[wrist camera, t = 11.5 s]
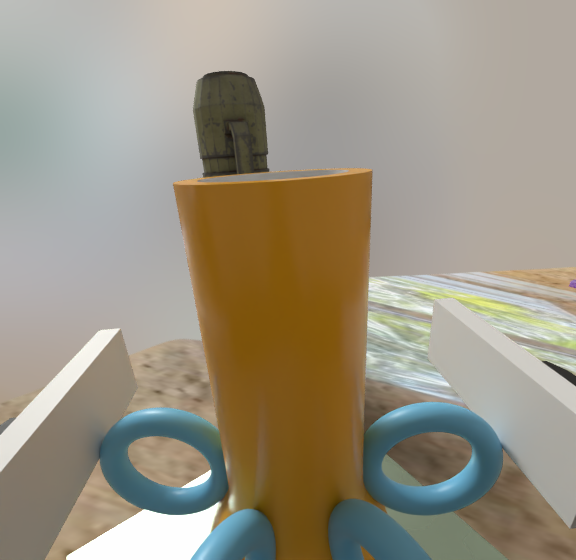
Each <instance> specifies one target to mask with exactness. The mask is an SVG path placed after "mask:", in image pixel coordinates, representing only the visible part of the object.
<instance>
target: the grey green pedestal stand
mask: <svg viewBox="0 0 576 560" xmlns="http://www.w3.org/2000/svg"><path fill="white" fill-rule="evenodd" d="M382 470H383V472H384V474H385V475H386V476H387V477H388V478H390V479H391V480H393V481H395V482H397V483H400V484H403V485H408V486H423V485H422V484H420V483H419V482H418V481H417V480H416V479H415V478H413V477H412V476H411V475H410V474H409V473H408V472H407V471H405V470H404V469H403V468H402V467H401V466H400V465H398V464H397V463H396V462H395V461H394V460H393V459H391V458H390V457H389V456H388V455H387V454H386V455H385V457H384V458H383V461H382ZM210 474H211V471H209V472H207V473H206V474H204V475H202V476H201V477H199V478H197V479H196V480H194V481H192V482H191V483H189V484H187V485H186V486H184V487H192V486H196V485H199V484H201V483H203V482H204V481H206V480H207V479H208V478H209V476H210ZM184 487H182V488H184ZM215 506H216V505H214V506H212V507H211V508H209V509H207V510H204V511H202V512H199V513H195V514H190V515H180V516H173V515H163V514H157V513H153V512H150V511H147V510H144V511H142V512H140V513H139V514H137V515H135V516H134V517H132V518H130V519H128V520H127V521H125V522H123V523H122V524H120V525H118V526H117V527H115V528H113V529H112V530H110V531H108V532H107V533H105V534H103V535H102V536H100V537H98V538H97V539H95V540H93V541H92V542H90V543H88V544H87V545H85V546H83V547H81V548H80V549H78V550H76V551H75V552H73V553H71V554H70V555H68V556H67V560H190V559H191V557H192V556H193V555H194V553H195V552H196V550H197V549H198V548H199V546H200V545H201V544H202V543H203V541H204V540H205V539H206V538H207V537H208V535H209V534H210V526H211V520H212V516H213V512H214V509H215ZM385 508H386V511H387V514H388V515H389V516H390V517H391V518H393V519H394V520H395V521H396V522H397V523H398V524H399V525H401V526H402V527H403V528H404V529H405V530H406V531H407V532H408V533H409V534H410V535H411V536H412V537H413V538H414V540H415V541H416V542H417V543H418V544H419V545H420V546H421V547H422V548H423V550H424V551H425V552H426V553H427V554H428V556H429V557H430V558H431V559H432V560H508V559H507V558H506V557H505V556H504V555H503V554H501V553H500V552H499V551H498V550H497V549H496V548H494V547H493V546H492V545H491V544H490V543H489V542H487V541H486V540H485V539H484V538H483V537H482V536H481V535H479V534H478V533H477V532H476V531H475V530H474V529H472V528H471V527H470V526H469V525H468V524H467V523H466V522H464V521H463V520H462V519H461V518H460V517H459V516H457V515H456V514H455V513H454V512H449V513H445V514H439V515H428V516H422V515H411V514H405V513H401V512H398V511H395V510H392V509H390V508H388V507H386V506H385Z"/></svg>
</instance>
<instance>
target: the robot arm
mask: <svg viewBox="0 0 576 560" xmlns="http://www.w3.org/2000/svg"><path fill="white" fill-rule="evenodd" d="M427 358H428V359H429V361H430V362H431V363H432V364H433V365H434V367H435V368H436V369H437V370H438V371H439V373H440V374H441V375H442V376H443V377H444V379H445V380H446V381H447V382H448V383H449V385H450V386H451V387H452V388H453V389H454V391H455V392H456V393H457V394H458V395H459V397H460V398H461V399H462V400H463V401H464V403H465V404H466V405H467V406H468V407H469V409H470V410H471V411H472V412H474V413H476V414H477V415H479V416H480V417H481V418H483V419H484V420H485V421H486V422H487V423H488V424H489V425H490V426H491V427H492V428H493V430H494V431H495V433H496V434H497V436H498V438H499V440H500V443H501V446H502V448H503V449H504V450H505V452H506V453H507V454H508V455H509V456H510V458H511V459H512V460H513V461H514V462H515V464H516V465H517V466H518V467H519V468H520V470H521V471H522V472H523V473H524V474H525V476H526V477H527V478H528V479H529V480H530V482H531V483H532V484H533V485H534V486H535V488H536V489H537V490H538V491H539V492H540V494H541V495H542V496H543V497H544V498H545V500H546V501H547V502H548V503H549V504H550V506H551V507H552V508H553V509H554V510H555V511H556V513H557V514H558V515H559V516H560V517H561V519H562V520H563V521H564V522H565V523H566V525H567V526H568V527H569V528H570V529H572V528H576V376H575V375H573V374H572V373H570V372H569V371H567V370H565V369H563V368H561V367H558V366H556V365H554V364H552V363H550V362H547V361H542V362H541V361H540V360H539V359H537V358H536V357H534V356H533V355H532V354H530V353H529V352H528V351H526V350H525V349H523V348H522V347H521V346H519V345H518V344H516V343H515V342H514V341H512V340H511V339H509V338H508V337H507V336H505V335H504V334H503V333H501V332H500V331H498V330H497V329H496V328H494V327H493V326H491V325H490V324H489V323H487V322H486V321H485V320H483V319H482V318H480V317H479V316H478V315H476V314H475V313H473V312H472V311H471V310H469V309H468V308H466V307H465V306H464V305H462V304H461V303H460V302H458V301H457V300H455V299H454V298H446V299H435V300H434V306H433V315H432V323H431V332H430V340H429V348H428V357H427ZM137 388H138V387H137V383H136V380H135V376H134V373H133V369H132V366H131V363H130V359H129V356H128V353H127V349H126V346H125V342H124V339H123V335H122V332H121V329H109V330H99V332H98V333H97V334H96V335H95V336H94V337H93V338H92V339H91V340H90V341H89V342H88V343H87V344H86V345H85V346H84V347H83V348H82V350H80V351H79V352H78V354H77V355H76V356H75V357H74V358H73V359H72V360H71V361H70V362H69V363H68V364H67V365H66V366H65V367H64V368H63V369H62V370H61V372H60V373H59V374H58V375H57V376H56V377H55V378H54V379H53V380H52V381H51V382H50V383H49V384H48V385H47V386H46V387H45V388H44V389H43V390H42V392H41V393H40V394H39V395H38V396H37V397H36V398H35V399H34V400H33V401H32V402H31V403H30V404H29V405H28V406H27V407H26V408H25V409H24V410H23V412H22V413H21V414H20V415H19V416H18V417H17V418H10V419H9V420H7V421H6V422H4V423H3V424H1V425H0V560H45V558H46V556H47V554H48V552H49V550H50V549H51V547H52V545H53V543H54V541H55V539H56V538H57V536H58V534H59V532H60V530H61V528H62V526H63V525H64V523H65V521H66V519H67V517H68V515H69V514H70V512H71V510H72V508H73V506H74V504H75V502H76V501H77V499H78V497H79V495H80V493H81V491H82V490H83V488H84V486H85V484H86V482H87V480H88V478H89V477H90V475H91V473H92V471H93V469H94V467H95V466H96V464H97V462H98V460H99V458H100V449H101V445H102V442H103V439H104V437H105V436H106V434H107V432H108V431H109V430H110V429H111V427H112V426H113V425H114V424H115V423H117V422H118V421H119V420H120V419H121V418H122V416H123V414H124V412H125V410H126V408H127V407H128V405H129V403H130V401H131V399H132V397H133V395H134V394H135V392H136V390H137Z"/></svg>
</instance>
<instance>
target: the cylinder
mask: <svg viewBox="0 0 576 560" xmlns="http://www.w3.org/2000/svg"><path fill="white" fill-rule="evenodd" d="M173 186H174V192H175V196H176V202H177V207H178V212H179V218H180V224H181V229H182V235H183V240H184V245H185V250H186V256H187V261H188V267H189V272H190V277H191V283H192V288H193V293H194V299H195V304H196V309H197V315H198V320H199V326H200V331H201V336H202V342H203V347H204V352H205V358H206V363H207V369H208V374H209V379H210V385H211V390H212V396H213V401H214V407H215V412H216V418H217V423H218V428H219V430H218V429H217V428H216V427H215V426H214V425H212V424H211V423H209V422H208V421H206V420H205V419H203V418H201V417H199V416H197V415H195V414H192V413H189V412H186V411H183V410H178V409H173V408H149V409H144V410H140V411H136V412H134V413H131V414H129V415H127V416H125V417H123V418H122V419H120V420H119V421H118V422H117V423H115V424H114V425H113V426H112V427H111V429H110V430H109V431H108V432H107V434H106V436H105V437H104V439H103V442H102V445H101V449H100V465H101V469H102V472H103V475H104V477H105V479H106V480H107V482H108V483H109V485H110V486H111V487H112V488H113V490H114V491H115V492H116V493H117V494H119V495H120V496H121V497H122V498H124V499H125V500H126V501H128V502H129V503H131V504H133V505H135V506H137V507H139V508H141V509H144V510H147V511H150V512H153V513H157V514H163V515H173V516H180V515H190V514H195V513H199V512H202V511H204V510H207V509H209V508H211V507H212V506H214V505H216V506H215V509H214V512H213V516H212V520H211V526H210V534H209V535H208V537H207V538H206V539H205V540H204V541H203V543H202V544H201V545H200V546H199V548H198V549H197V550H196V552H195V553H194V555H193V556H192V557H191V559H190V560H432V559H431V558H430V557H429V556H428V554H427V553H426V552H425V551H424V550H423V548H422V547H421V546H420V545H419V544H418V543H417V542H416V541H415V540H414V538H413V537H412V536H411V535H410V534H409V533H408V532H407V531H406V530H405V529H404V528H403V527H402V526H401V525H399V524H398V523H397V522H396V521H395V520H394V519H393V518H391V517H390V516H389V515H388V514H387V511H386V508H385V506H386V507H388V508H390V509H392V510H395V511H398V512H401V513H405V514H411V515H422V516H428V515H439V514H445V513H449V512H453V511H456V510H459V509H462V508H464V507H466V506H468V505H470V504H472V503H474V502H475V501H477V500H478V499H480V498H481V497H482V496H484V495H485V494H486V493H487V492H488V491H489V490H490V489H491V488H492V486H493V485H494V484H495V482H496V481H497V479H498V477H499V475H500V472H501V469H502V465H503V450H502V446H501V443H500V440H499V438H498V436H497V434H496V433H495V431H494V430H493V428H492V427H491V426H490V425H489V424H488V423H487V422H486V421H485V420H484V419H483V418H481V417H480V416H479V415H477V414H476V413H474V412H472V411H470V410H468V409H466V408H463V407H460V406H457V405H453V404H449V403H441V402H423V403H416V404H411V405H407V406H404V407H401V408H398V409H395V410H393V411H391V412H389V413H387V414H386V415H384V416H382V417H381V418H380V419H378V420H377V421H376V422H375V423H373V424H372V425H371V426H370V427H369V429H368V430H367V431H366V432H365V434H364V410H365V377H366V346H367V316H368V287H369V257H370V227H371V199H372V197H371V196H372V169H363V168H342V169H341V168H340V169H315V170H314V169H313V170H294V171H278V172H262V173H249V174H237V175H226V176H215V177H206V178H197V179H190V180H183V181H178V182H174V183H173ZM427 432H447V433H452V434H455V435H458V436H461V437H463V438H464V439H466V440H467V441H468V442H469V443H470V445H471V447H472V456H471V459H470V461H469V463H468V464H467V466H466V467H465V468H464V469H463V470H462V471H461V472H460V473H459V474H457V475H456V476H454V477H452V478H451V479H449V480H447V481H444V482H441V483H438V484H434V485H429V486H408V485H403V484H400V483H397V482H395V481H393V480H391V479H390V478H388V477H387V476H386V475H385V474H384V472H383V470H382V461H383V458H384V457H385V455H386V454H387V452H388V451H389V450H390V449H391V448H392V447H393V446H394V445H396V444H397V443H399V442H400V441H402V440H404V439H406V438H408V437H411V436H414V435H417V434H421V433H427ZM149 436H163V437H170V438H174V439H177V440H180V441H183V442H185V443H187V444H189V445H191V446H192V447H194V448H195V449H197V450H198V451H199V452H200V453H201V454H202V455H203V456H204V457H205V458H206V459H207V461H208V463H209V465H210V468H211V474H210V476H209V478H208V479H207V480H206V481H204V482H203V483H201V484H199V485H196V486H192V487H184V488H177V487H169V486H165V485H161V484H158V483H156V482H153V481H151V480H149V479H148V478H146V477H144V476H143V475H142V474H140V473H139V472H138V471H137V470H136V469H135V468H134V466H133V465H132V463H131V462H130V460H129V457H128V447H129V445H130V444H131V443H132V442H134V441H135V440H137V439H140V438H143V437H149Z"/></svg>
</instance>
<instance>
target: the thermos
mask: <svg viewBox="0 0 576 560" xmlns="http://www.w3.org/2000/svg"><path fill="white" fill-rule="evenodd" d="M193 113H194V120H195V126H196V133H197V139H198V145H199V152H200V158H201V159H202V160H203V166H204V173H203V178H206V177H215V176H226V175H237V174H249V173H262V172H269V169H268V168H267V157H266V155H267V154H268V148H267V136H266V122H265V110H264V105H263V102H262V98H261V96H260V93H259V90H258V88H257V85H256V82H255V80H254V79H253V78H252V77H249V76H248V75H247V74H245V73H242V72H235V71H220V72H213V73H209V74H206V75H204V76H203V78H201V79H199V80H198V81H197V84H196V91H195V98H194V107H193Z"/></svg>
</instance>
